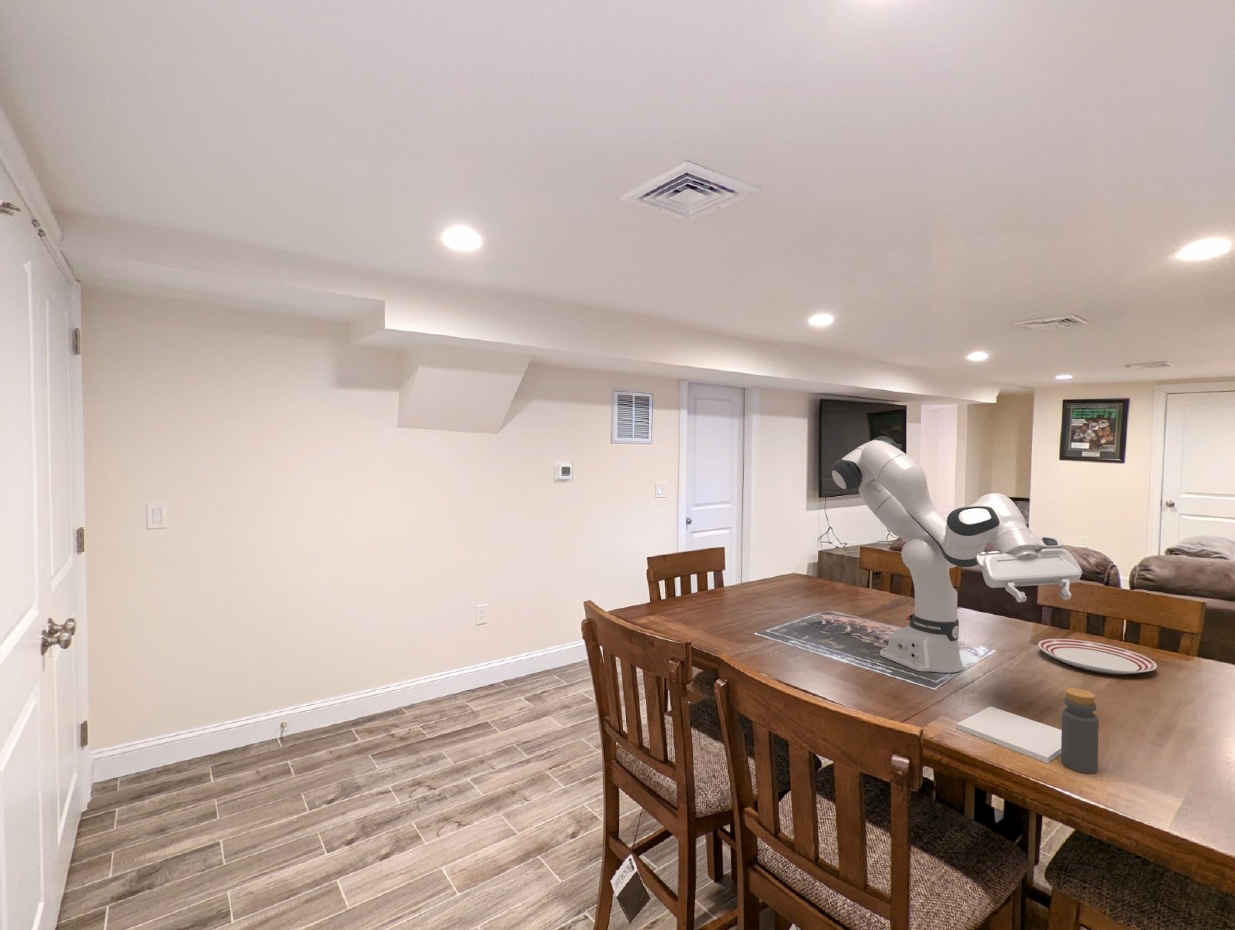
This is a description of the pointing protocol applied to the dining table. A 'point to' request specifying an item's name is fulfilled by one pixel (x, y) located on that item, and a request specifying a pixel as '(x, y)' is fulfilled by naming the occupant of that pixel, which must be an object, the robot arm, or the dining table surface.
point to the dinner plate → (1097, 656)
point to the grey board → (1015, 733)
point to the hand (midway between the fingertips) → (1044, 599)
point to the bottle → (1079, 732)
